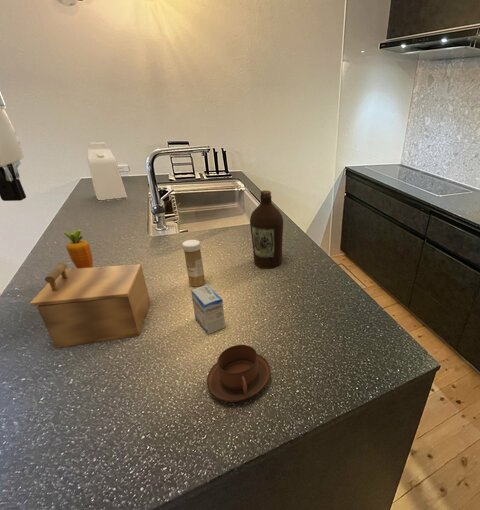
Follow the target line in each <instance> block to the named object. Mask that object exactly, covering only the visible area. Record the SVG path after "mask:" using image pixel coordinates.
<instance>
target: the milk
mask: <svg viewBox="0 0 480 510" xmlns="http://www.w3.org/2000/svg"><path fill="white" fill-rule="evenodd" d="M86 153H87V155H86V159H87V164H88V168H89V172H90V175H91V176H90V177H91V181H92V186H93V189H94V194H95V198H96V199H98V200H105V199H113V198H121V197H127V198H128V195H127V193H126V189H125V185H124V182H123V178H122V176H121V172H120V168H119V165H118V162H117V159H116V158H115V156H114V154H113V152H112V151H111V149H110V148H109V146H108V145H107V143H106V142H88V147H87V152H86ZM98 200H97V201H98Z"/></svg>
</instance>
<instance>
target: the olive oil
mask: <svg viewBox="0 0 480 510" xmlns="http://www.w3.org/2000/svg"><path fill="white" fill-rule="evenodd" d="M249 227H250V234H251V242H252V250H253V251H252V253H253V262H254V265H255V266H256V267H258V268H261V269H274V268H277V267H279V266H280V265H282V262H283V240H284V239H283V237H284V236H283V235H284V218H283V215H282V213H281V211H280V210H279V209H278V208H277V207H276V206H275V205H274V204H273V203H272V192H271V191H270V190H261V191H260V204H259V205H257V207H256V208H254V210H253V211H252V212H251V214H250V217H249Z"/></svg>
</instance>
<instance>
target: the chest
mask: <svg viewBox="0 0 480 510" xmlns="http://www.w3.org/2000/svg"><path fill="white" fill-rule="evenodd" d="M150 304H151V299H150V295H149V292H148V286H147V283H146V280H145V275H144V271H143V266H141V269H140V271H139V273H138V275H137V278H136V280H135V282H134V284H133V287H132V289H131V291H130V294H129V296H128V297H119V298H109V299H99V300H89V301H79V302H69V303H59V304H49V305H40V306H36V308H37V311H38V313H39V315H40V318H41V319H42V321H43V323H44V326H45V329H46V330H47V332H48V335H49V337H50V339H51V341H52V343H53V345H54V348H55V349H58V348H64V347H72V346H78V345H79V346H80V345H85V344H86V345H87V344H91V343H99V342H103V341H104V342H106V341H111V340H112V341H113V340H118V339H119V340H120V339H125V338H132V337H139V336H140V335H141V331H142V329H143V325H144V323H145V319H146V317H147V313H148V311H149V307H150Z"/></svg>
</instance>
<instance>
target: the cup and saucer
mask: <svg viewBox="0 0 480 510" xmlns="http://www.w3.org/2000/svg"><path fill="white" fill-rule="evenodd" d="M270 376H271V365H270V364H269V362H268V360H267V359H266V358H265V357H264V356H262V355H261V354H258V352H257V350H256V349H255V348H254V347H253V346H250V345H247V344H237V345H232V346H229V347H227V348H226V349H224V350H222V351H221V353H219V356H218V358H217V361H216V362H215V363H214V364H213V366H212V367H211V368H210V369H209V372H208V373H207V376H206V386H207V389H208V391H209V393H210V394H211V395H212V396H213V397H215V398H216V399H218V400H220V401H223V402H230V403H232V402H233V403H235V402H241V401H245V400H248V399H251V398H252V397H254V396H256V395H257V394H259V393H260V392H261V391H262V390H263V389H264V388H265V386H266V385H267V384H268V382H269V379H270Z"/></svg>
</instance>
